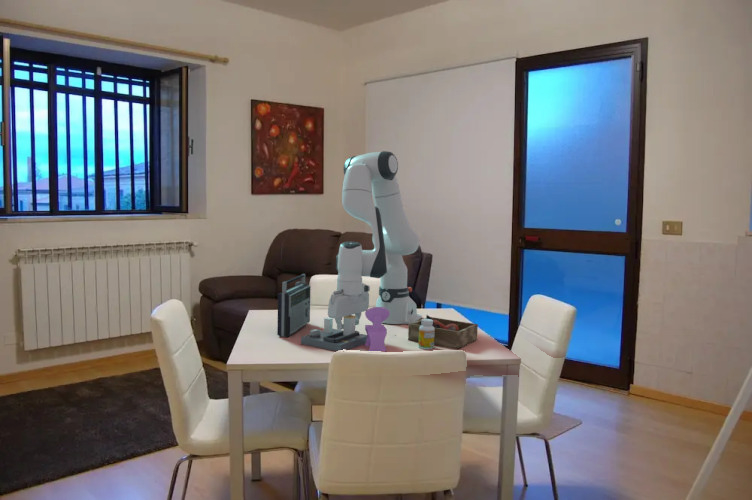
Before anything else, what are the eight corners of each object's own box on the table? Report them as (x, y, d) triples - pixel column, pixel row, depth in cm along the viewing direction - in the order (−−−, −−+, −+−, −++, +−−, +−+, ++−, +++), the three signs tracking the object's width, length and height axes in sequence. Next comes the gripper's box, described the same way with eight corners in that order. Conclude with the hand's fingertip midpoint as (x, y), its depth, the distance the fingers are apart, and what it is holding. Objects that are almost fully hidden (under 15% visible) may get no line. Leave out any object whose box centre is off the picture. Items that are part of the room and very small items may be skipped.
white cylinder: (347, 333, 215) (348, 314, 214) (355, 335, 213) (355, 315, 213) (343, 335, 213) (343, 315, 212) (350, 336, 211) (351, 317, 210)
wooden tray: (428, 332, 232) (429, 316, 232) (477, 340, 222) (477, 324, 221) (408, 340, 219) (408, 323, 218) (458, 349, 208) (459, 332, 208)
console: (330, 334, 223) (330, 314, 223) (368, 342, 214) (369, 321, 213) (301, 344, 209) (301, 322, 208) (340, 352, 200) (341, 330, 199)
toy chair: (385, 345, 211) (386, 302, 210) (389, 351, 203) (391, 307, 201) (361, 345, 210) (362, 302, 208) (365, 352, 201) (366, 308, 200)
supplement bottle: (417, 345, 212) (418, 318, 211) (432, 345, 212) (433, 318, 211) (419, 349, 206) (420, 321, 205) (435, 349, 207) (436, 321, 206)
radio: (291, 338, 217) (292, 283, 215) (277, 336, 218) (278, 282, 216) (311, 323, 241) (312, 274, 239) (299, 322, 242) (300, 273, 240)
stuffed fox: (418, 318, 222) (444, 312, 229) (429, 346, 218) (455, 340, 225) (429, 310, 216) (454, 305, 223) (440, 339, 213) (466, 333, 219)
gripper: (339, 293, 201) (337, 333, 202) (372, 286, 218) (371, 323, 220) (324, 290, 204) (322, 330, 206) (358, 284, 222) (357, 321, 223)
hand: (348, 327), depth 213 cm, fingers open, 8 cm apart
